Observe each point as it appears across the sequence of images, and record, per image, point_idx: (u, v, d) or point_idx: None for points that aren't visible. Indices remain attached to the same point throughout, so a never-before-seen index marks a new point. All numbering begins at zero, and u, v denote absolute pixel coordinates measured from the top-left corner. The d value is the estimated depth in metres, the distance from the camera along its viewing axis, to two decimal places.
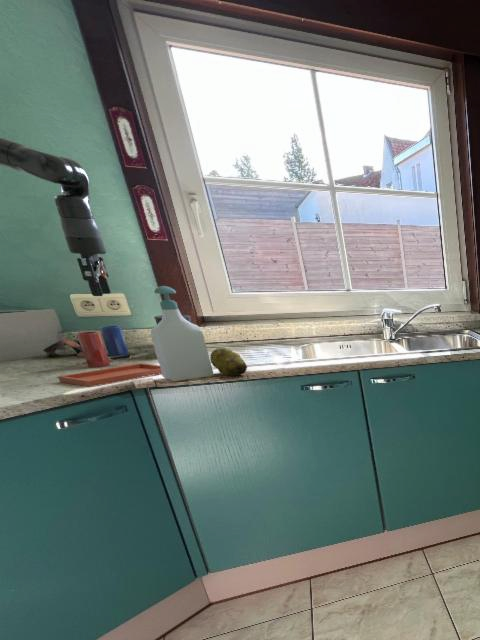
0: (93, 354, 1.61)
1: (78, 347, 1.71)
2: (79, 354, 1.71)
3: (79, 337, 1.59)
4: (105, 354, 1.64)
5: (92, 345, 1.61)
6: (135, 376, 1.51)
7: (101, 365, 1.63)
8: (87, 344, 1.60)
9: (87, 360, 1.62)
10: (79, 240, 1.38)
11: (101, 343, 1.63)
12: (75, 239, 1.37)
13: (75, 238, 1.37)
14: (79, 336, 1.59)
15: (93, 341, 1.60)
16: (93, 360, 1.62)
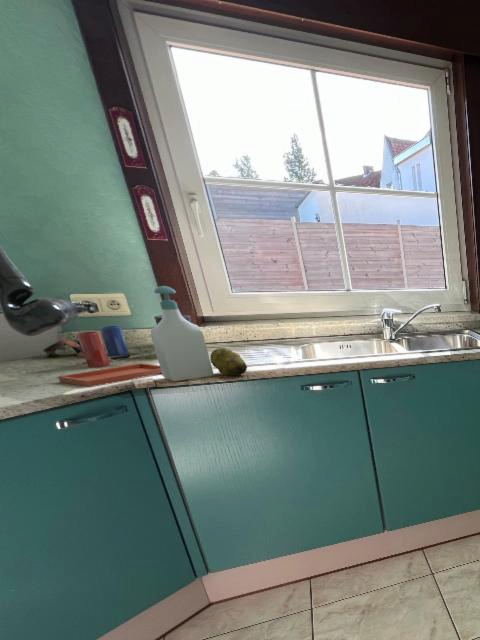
0: (93, 354, 1.61)
1: (78, 347, 1.71)
2: (79, 354, 1.71)
3: (79, 337, 1.59)
4: (105, 354, 1.64)
5: (92, 345, 1.61)
6: (135, 376, 1.51)
7: (101, 365, 1.63)
8: (87, 344, 1.60)
9: (87, 360, 1.62)
10: None
11: (101, 343, 1.63)
12: None
13: None
14: (79, 336, 1.59)
15: (93, 341, 1.60)
16: (93, 360, 1.62)
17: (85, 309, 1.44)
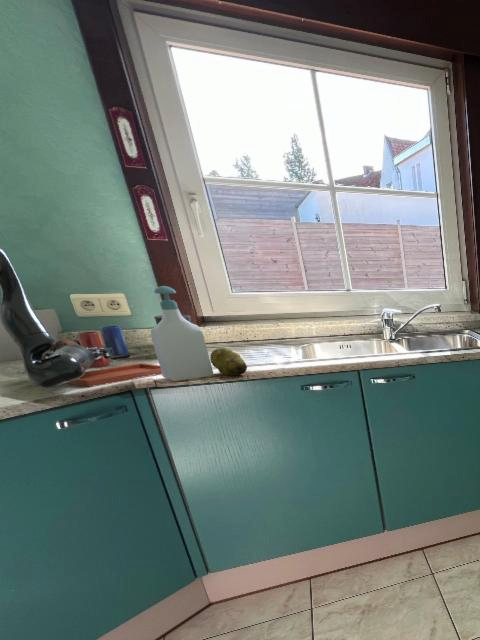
0: None
1: None
2: None
3: (79, 337, 1.59)
4: None
5: (92, 345, 1.61)
6: (135, 376, 1.51)
7: (101, 365, 1.63)
8: (87, 344, 1.60)
9: None
10: None
11: (101, 343, 1.63)
12: None
13: None
14: (79, 336, 1.59)
15: (93, 341, 1.60)
16: None
17: (101, 355, 1.51)
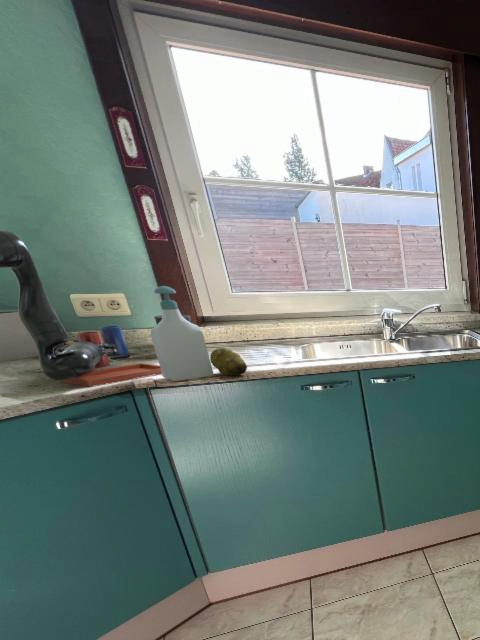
0: None
1: None
2: None
3: (79, 337, 1.59)
4: (105, 354, 1.64)
5: None
6: (135, 376, 1.51)
7: (101, 365, 1.63)
8: None
9: None
10: None
11: (101, 343, 1.63)
12: None
13: None
14: (79, 336, 1.59)
15: (93, 341, 1.60)
16: None
17: (110, 351, 1.60)
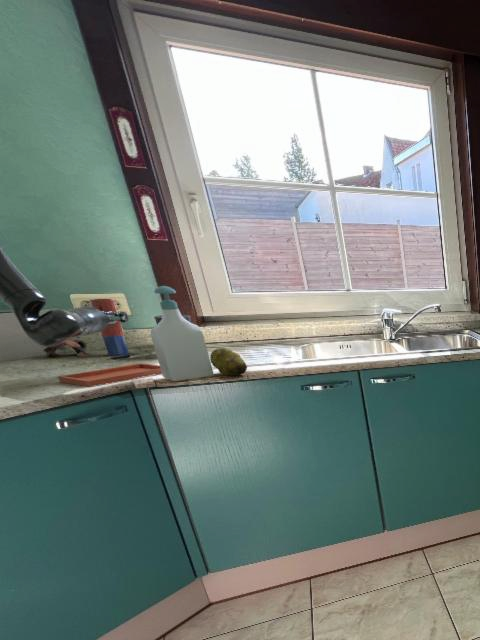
0: None
1: (78, 347, 1.71)
2: (79, 354, 1.71)
3: (91, 303, 1.50)
4: (118, 323, 1.55)
5: None
6: (135, 376, 1.51)
7: (112, 334, 1.54)
8: None
9: None
10: None
11: (114, 311, 1.54)
12: None
13: None
14: (91, 302, 1.50)
15: (104, 308, 1.52)
16: None
17: (117, 318, 1.50)
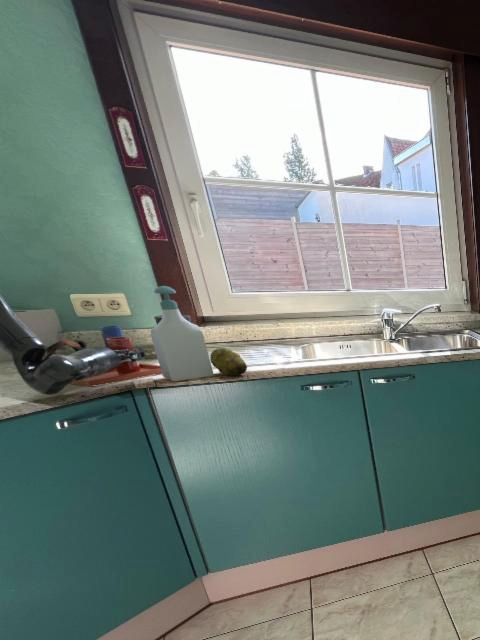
0: None
1: (78, 347, 1.71)
2: None
3: (107, 343, 1.49)
4: None
5: None
6: (135, 376, 1.51)
7: (128, 373, 1.53)
8: None
9: None
10: None
11: None
12: None
13: None
14: (107, 342, 1.49)
15: (120, 347, 1.50)
16: (120, 367, 1.52)
17: (127, 357, 1.47)
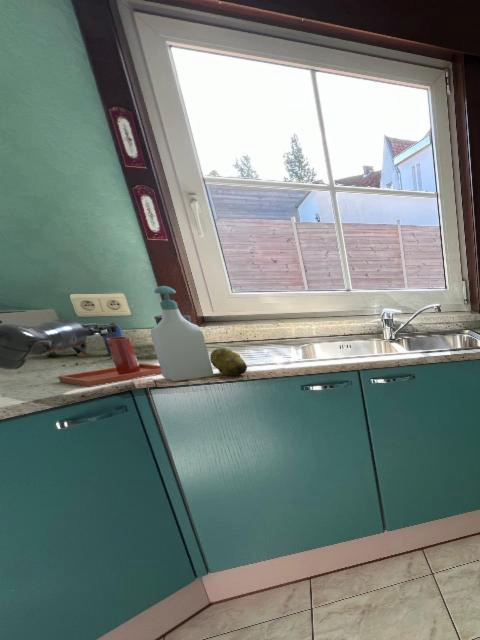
0: (119, 361, 1.51)
1: (78, 347, 1.71)
2: (79, 354, 1.71)
3: (107, 343, 1.49)
4: (133, 361, 1.53)
5: (119, 352, 1.50)
6: (135, 376, 1.51)
7: (128, 373, 1.53)
8: (114, 350, 1.50)
9: (115, 367, 1.52)
10: None
11: (129, 350, 1.52)
12: None
13: None
14: (107, 342, 1.49)
15: (120, 347, 1.50)
16: (120, 367, 1.52)
17: (96, 332, 1.35)
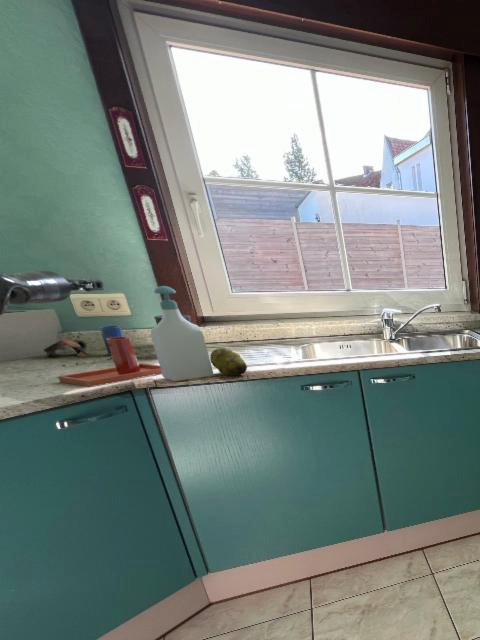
0: (119, 361, 1.51)
1: (78, 347, 1.71)
2: (79, 354, 1.71)
3: (107, 343, 1.49)
4: (133, 361, 1.53)
5: (119, 352, 1.50)
6: (135, 376, 1.51)
7: (128, 373, 1.53)
8: (114, 350, 1.50)
9: (115, 367, 1.52)
10: None
11: (129, 350, 1.52)
12: None
13: None
14: (107, 342, 1.49)
15: (120, 347, 1.50)
16: (120, 367, 1.52)
17: (81, 286, 1.30)
